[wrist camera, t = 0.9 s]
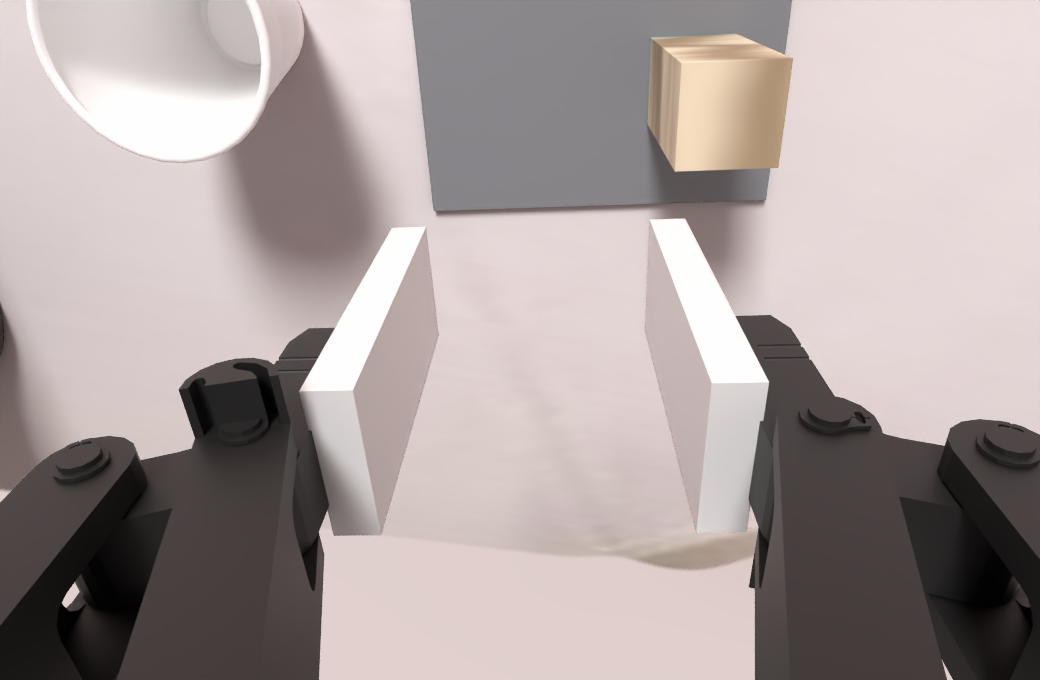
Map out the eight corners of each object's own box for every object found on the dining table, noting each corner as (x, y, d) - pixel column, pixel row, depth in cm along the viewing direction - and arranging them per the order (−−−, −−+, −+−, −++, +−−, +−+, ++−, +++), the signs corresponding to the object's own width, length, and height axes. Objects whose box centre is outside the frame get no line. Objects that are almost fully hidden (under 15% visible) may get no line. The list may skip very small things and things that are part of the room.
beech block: (646, 123, 39) (674, 171, 31) (650, 37, 37) (681, 63, 28) (726, 120, 39) (778, 167, 30) (735, 33, 37) (793, 58, 28)
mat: (434, 208, 43) (433, 211, 42) (395, -145, 34) (394, -146, 34) (764, 197, 42) (765, 199, 41) (811, -171, 33) (814, -172, 33)
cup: (378, 42, 38) (320, 72, 29) (254, 147, 41) (165, 206, 32) (245, -133, 34) (128, -165, 25) (120, -2, 38) (-26, 13, 28)
